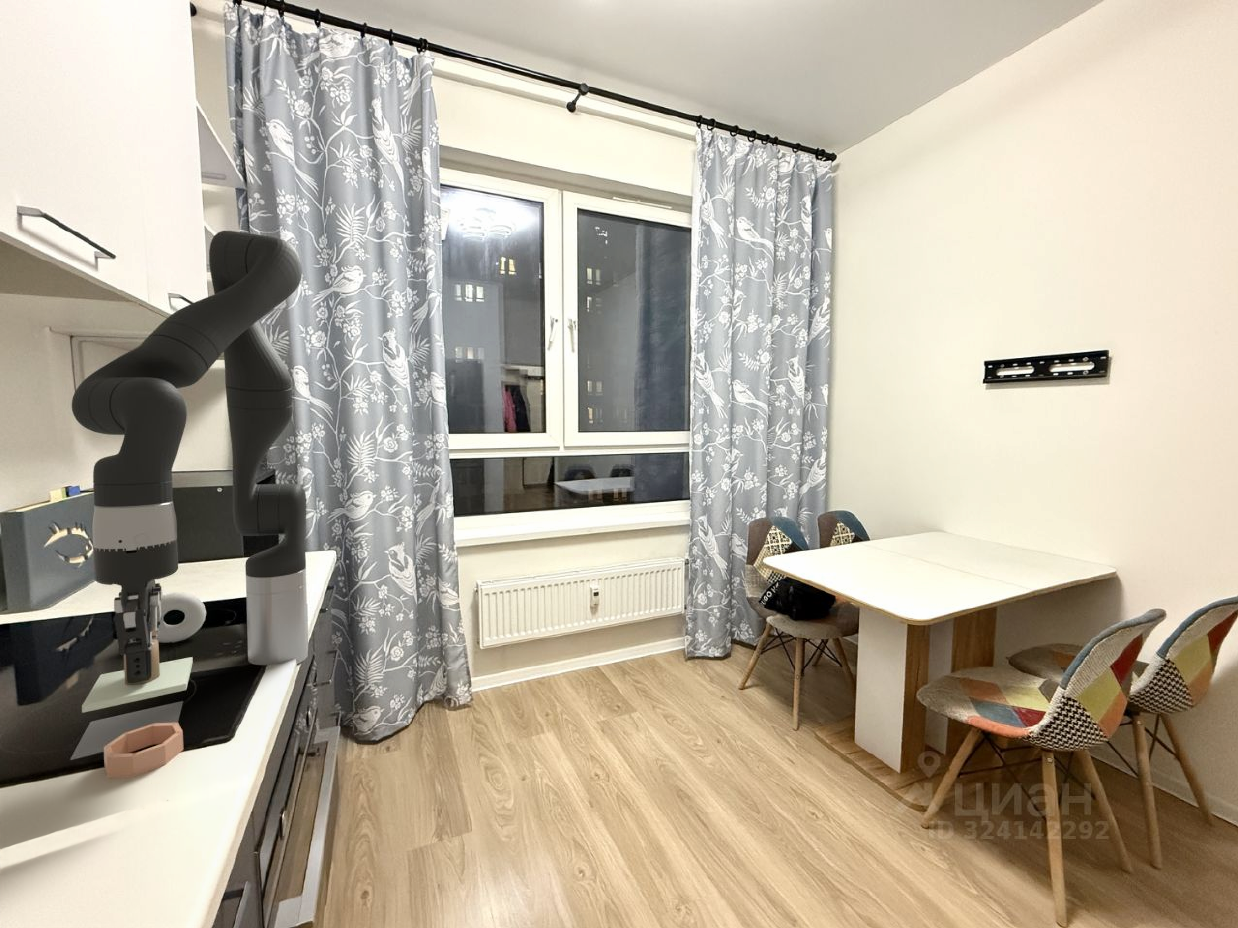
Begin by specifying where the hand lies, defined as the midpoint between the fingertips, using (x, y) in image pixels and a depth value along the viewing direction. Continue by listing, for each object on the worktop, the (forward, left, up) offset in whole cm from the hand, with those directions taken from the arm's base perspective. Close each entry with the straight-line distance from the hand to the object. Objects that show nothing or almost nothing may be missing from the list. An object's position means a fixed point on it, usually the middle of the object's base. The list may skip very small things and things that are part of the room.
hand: (142, 674), depth 63 cm
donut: (-40, -25, -13) cm, 49 cm away
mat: (-7, -7, -13) cm, 16 cm away
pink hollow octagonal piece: (0, 0, -13) cm, 13 cm away
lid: (0, 0, -1) cm, 1 cm away
